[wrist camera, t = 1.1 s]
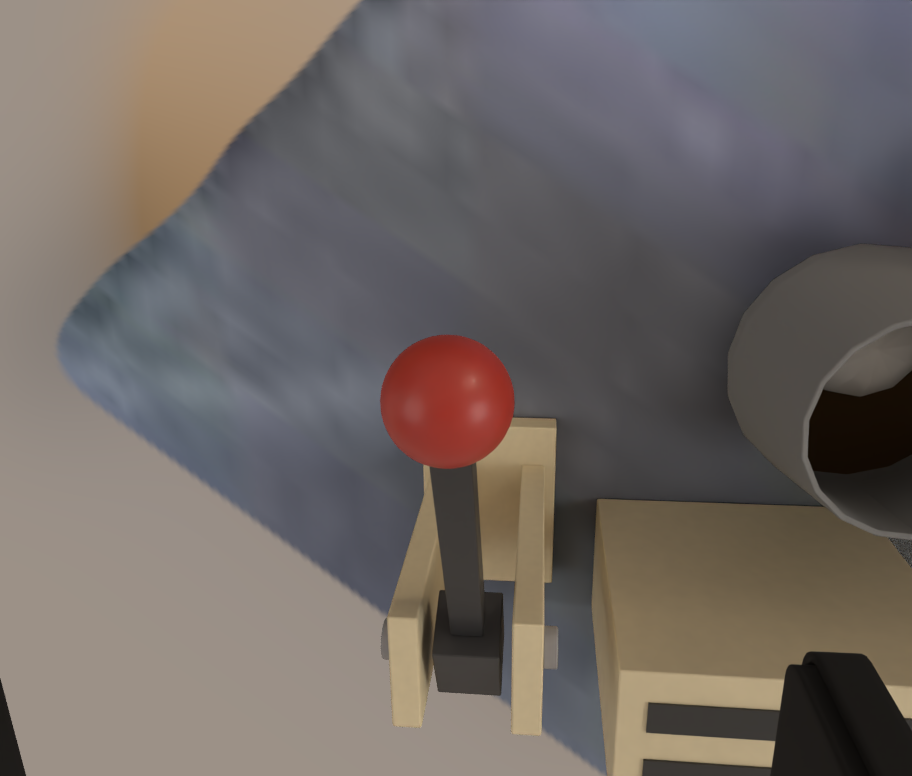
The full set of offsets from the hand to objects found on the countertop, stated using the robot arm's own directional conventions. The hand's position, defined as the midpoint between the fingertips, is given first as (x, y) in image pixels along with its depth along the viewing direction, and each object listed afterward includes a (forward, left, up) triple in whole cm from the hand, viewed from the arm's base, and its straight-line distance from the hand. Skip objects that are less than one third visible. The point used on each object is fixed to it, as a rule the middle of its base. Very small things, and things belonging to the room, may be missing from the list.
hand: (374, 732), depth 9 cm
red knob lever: (+5, 0, -14) cm, 15 cm away
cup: (+3, +14, -27) cm, 30 cm away
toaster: (+14, +11, -27) cm, 32 cm away
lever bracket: (+11, 0, -27) cm, 29 cm away
